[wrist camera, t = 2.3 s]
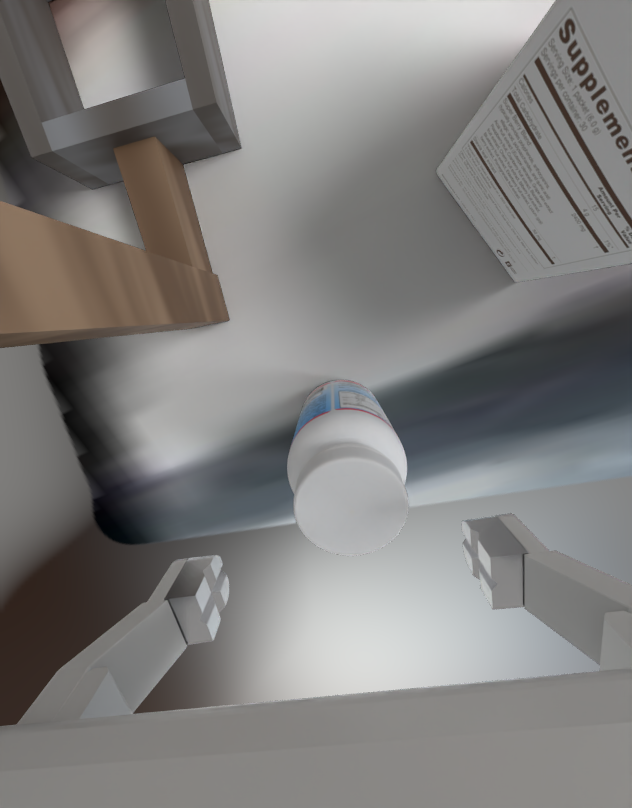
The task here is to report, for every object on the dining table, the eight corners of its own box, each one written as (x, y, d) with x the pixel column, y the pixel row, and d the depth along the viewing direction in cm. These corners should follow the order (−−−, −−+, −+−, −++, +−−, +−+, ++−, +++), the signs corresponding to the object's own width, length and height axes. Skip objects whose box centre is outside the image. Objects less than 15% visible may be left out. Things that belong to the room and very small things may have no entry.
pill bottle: (316, 461, 24) (302, 584, 13) (290, 391, 22) (251, 464, 11) (390, 441, 23) (441, 555, 12) (369, 367, 21) (407, 421, 10)
